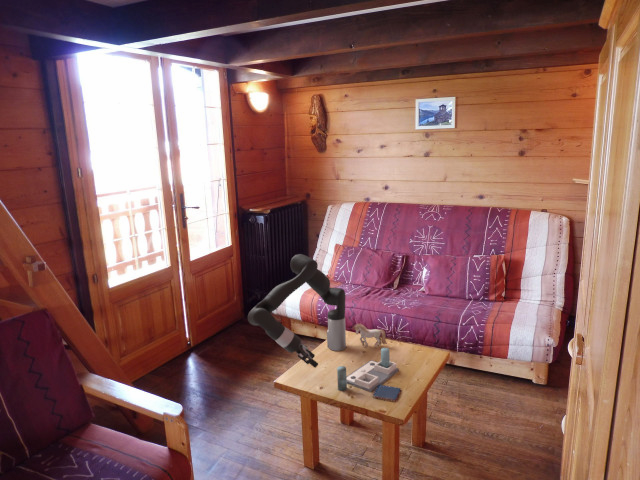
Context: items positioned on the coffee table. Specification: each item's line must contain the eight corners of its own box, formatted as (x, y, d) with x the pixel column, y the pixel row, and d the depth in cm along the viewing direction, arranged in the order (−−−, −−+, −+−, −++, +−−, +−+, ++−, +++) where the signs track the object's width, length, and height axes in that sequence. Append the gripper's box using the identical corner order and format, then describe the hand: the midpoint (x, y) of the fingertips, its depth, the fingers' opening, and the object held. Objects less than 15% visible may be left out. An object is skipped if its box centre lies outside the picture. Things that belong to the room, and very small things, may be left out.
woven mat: (396, 403, 190) (396, 399, 190) (372, 399, 194) (372, 395, 194) (402, 391, 200) (402, 387, 199) (378, 387, 204) (378, 383, 203)
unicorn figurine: (349, 346, 247) (348, 322, 244) (383, 342, 250) (383, 319, 247) (352, 351, 240) (351, 327, 237) (387, 347, 243) (387, 324, 240)
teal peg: (336, 389, 203) (335, 368, 201) (341, 385, 206) (340, 365, 204) (343, 392, 200) (342, 371, 198) (348, 388, 203) (347, 367, 201)
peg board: (342, 381, 209) (341, 359, 207) (370, 361, 227) (370, 341, 225) (371, 392, 199) (370, 369, 197) (398, 370, 217) (398, 349, 215)
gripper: (295, 339, 187) (324, 362, 191) (291, 327, 201) (318, 348, 205) (283, 353, 187) (312, 375, 191) (280, 339, 201) (306, 360, 205)
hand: (315, 361), depth 198 cm, fingers open, 8 cm apart
